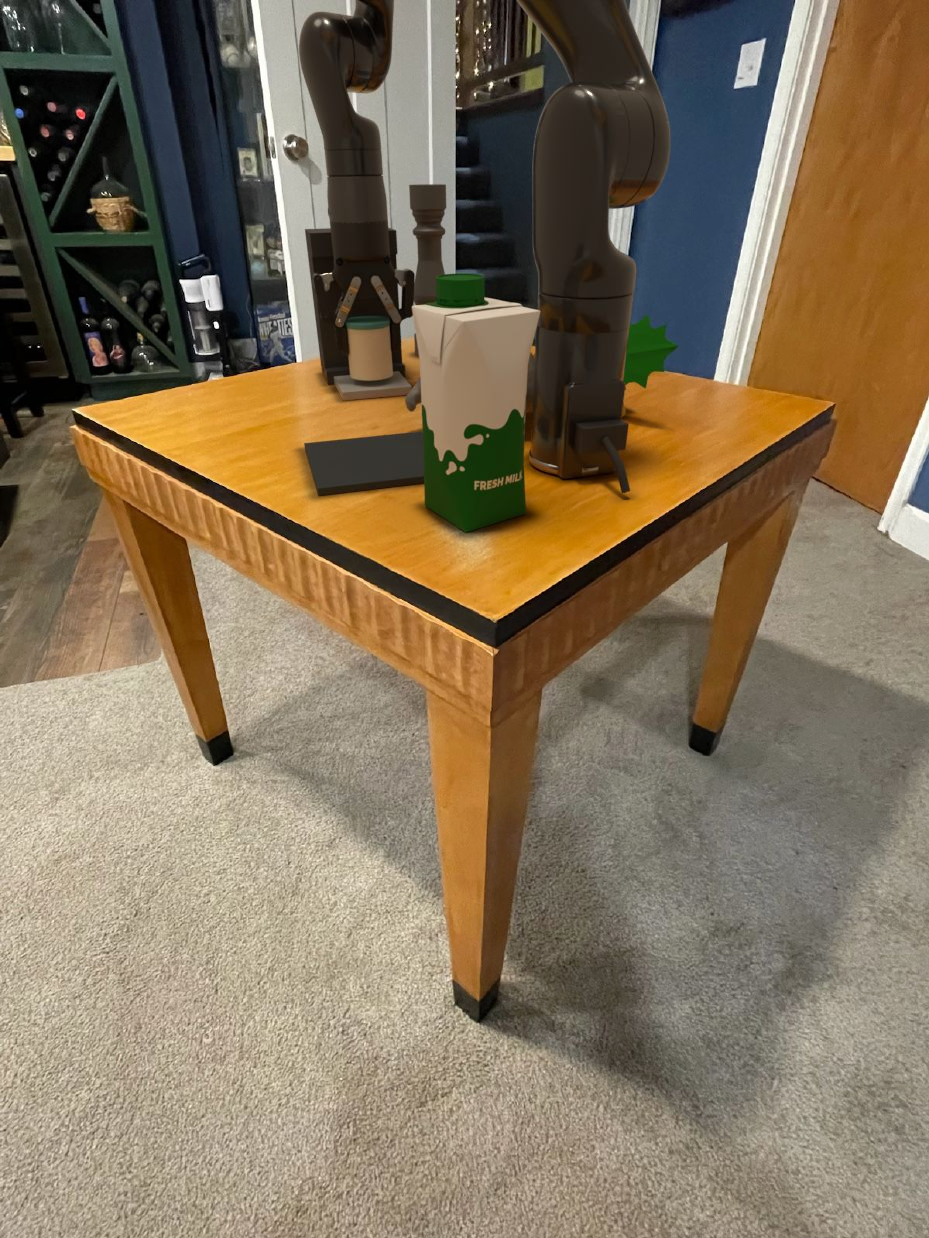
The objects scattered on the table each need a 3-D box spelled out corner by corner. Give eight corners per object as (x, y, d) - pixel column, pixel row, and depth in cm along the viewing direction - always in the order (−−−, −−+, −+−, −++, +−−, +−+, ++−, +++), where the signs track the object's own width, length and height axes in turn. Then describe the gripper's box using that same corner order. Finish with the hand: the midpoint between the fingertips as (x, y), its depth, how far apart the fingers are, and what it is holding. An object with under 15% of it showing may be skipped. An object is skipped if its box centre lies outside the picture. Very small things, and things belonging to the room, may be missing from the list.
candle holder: (431, 348, 123) (426, 184, 109) (457, 353, 120) (455, 184, 106) (407, 355, 119) (399, 185, 106) (434, 360, 116) (429, 185, 102)
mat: (452, 479, 72) (452, 472, 72) (318, 496, 69) (317, 488, 68) (421, 437, 83) (421, 431, 83) (305, 449, 80) (304, 443, 80)
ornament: (643, 452, 92) (710, 345, 84) (614, 451, 86) (684, 336, 78) (535, 376, 100) (587, 272, 93) (501, 370, 94) (554, 258, 86)
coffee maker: (418, 394, 99) (412, 236, 88) (335, 401, 96) (317, 239, 85) (395, 366, 113) (386, 226, 102) (321, 372, 110) (304, 229, 99)
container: (397, 378, 98) (394, 322, 94) (353, 382, 97) (347, 325, 92) (389, 368, 103) (385, 314, 99) (346, 372, 102) (340, 317, 98)
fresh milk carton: (484, 485, 71) (487, 269, 60) (540, 515, 65) (554, 281, 54) (411, 505, 67) (399, 278, 56) (463, 540, 61) (461, 292, 49)
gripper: (305, 221, 84) (322, 362, 93) (419, 217, 88) (424, 354, 97) (299, 217, 90) (316, 350, 100) (406, 214, 94) (413, 343, 103)
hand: (369, 352), depth 98 cm, fingers closed on container, 6 cm apart
